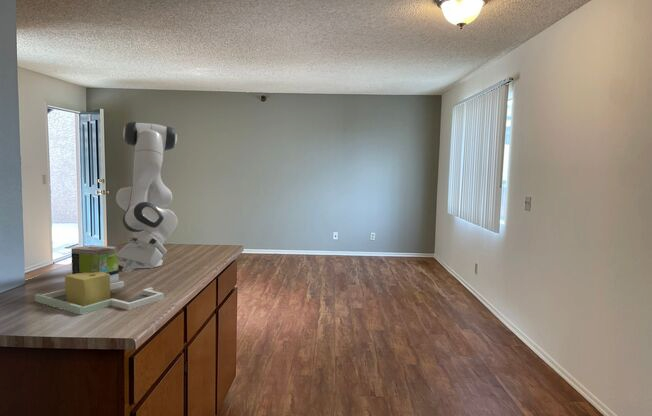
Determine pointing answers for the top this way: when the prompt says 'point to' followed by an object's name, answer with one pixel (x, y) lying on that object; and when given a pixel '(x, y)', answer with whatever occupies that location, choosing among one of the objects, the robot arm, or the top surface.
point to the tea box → (95, 260)
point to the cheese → (87, 288)
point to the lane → (60, 297)
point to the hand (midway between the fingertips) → (125, 271)
